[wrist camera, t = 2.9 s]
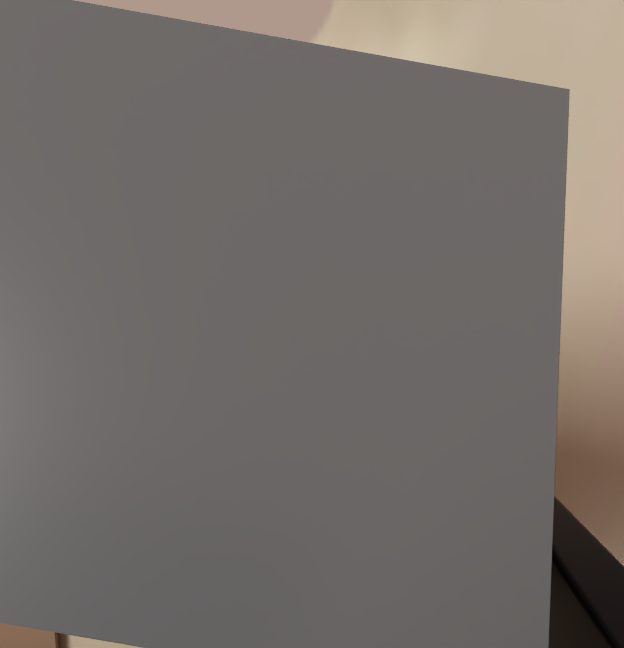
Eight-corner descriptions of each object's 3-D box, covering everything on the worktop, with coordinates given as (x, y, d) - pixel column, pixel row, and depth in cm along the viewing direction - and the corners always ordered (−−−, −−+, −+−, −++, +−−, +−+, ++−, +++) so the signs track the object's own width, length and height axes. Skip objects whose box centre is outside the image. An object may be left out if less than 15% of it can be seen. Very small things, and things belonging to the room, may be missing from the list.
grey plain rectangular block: (330, 522, 15) (545, 716, 3) (120, 486, 15) (-592, 522, 3) (351, 378, 17) (570, 66, 4) (156, 344, 16) (-231, -77, 4)
